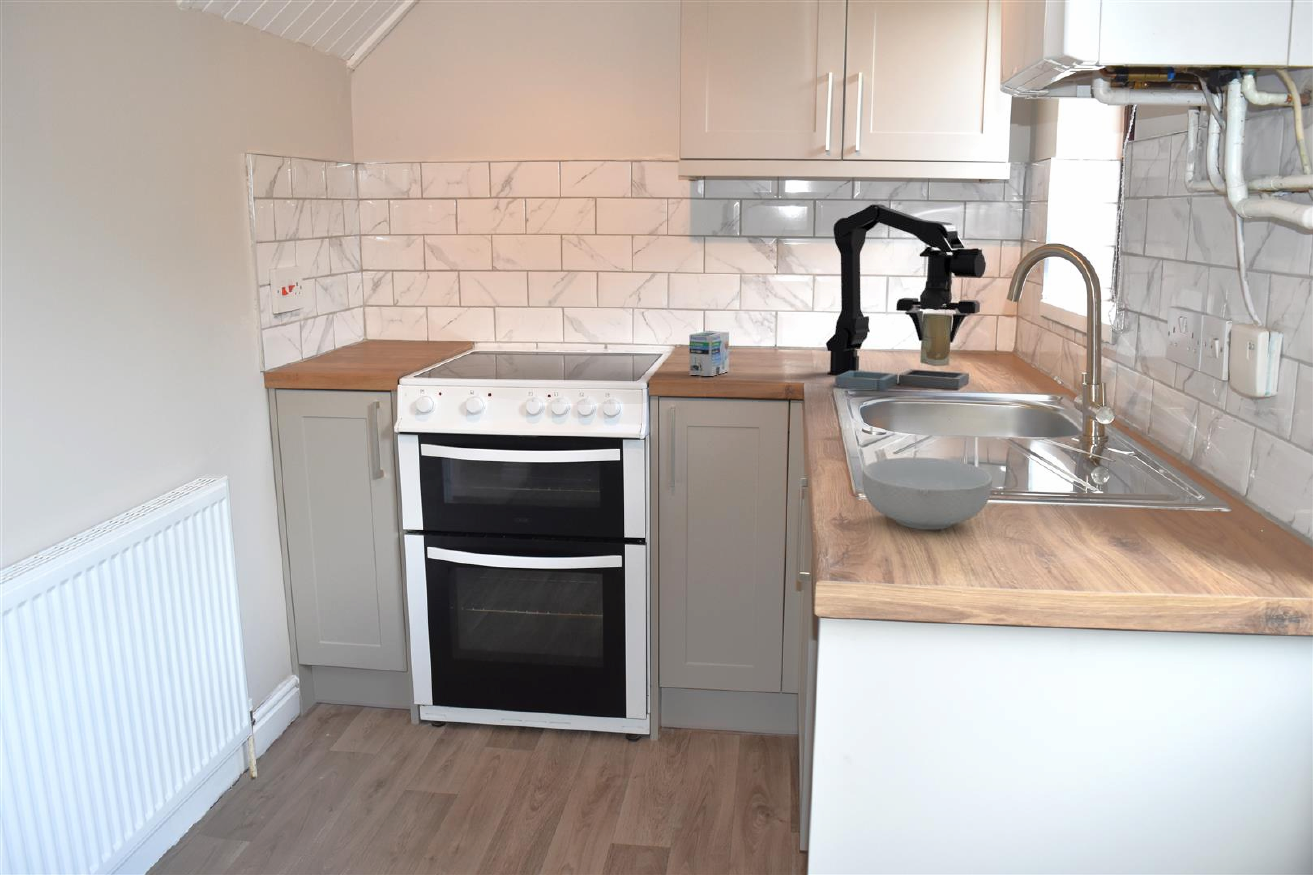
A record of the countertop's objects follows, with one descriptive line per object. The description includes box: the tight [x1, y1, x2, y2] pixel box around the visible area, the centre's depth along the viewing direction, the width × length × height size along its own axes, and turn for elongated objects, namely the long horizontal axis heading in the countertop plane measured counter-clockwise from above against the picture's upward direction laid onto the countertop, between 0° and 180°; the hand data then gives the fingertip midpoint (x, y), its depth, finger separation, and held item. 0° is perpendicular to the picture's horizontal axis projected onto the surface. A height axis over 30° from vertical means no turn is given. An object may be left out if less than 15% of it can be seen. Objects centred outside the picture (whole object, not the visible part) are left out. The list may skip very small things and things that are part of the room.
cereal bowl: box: [862, 456, 993, 531], centre depth 141 cm, size 17×17×7 cm
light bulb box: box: [689, 330, 730, 376], centre depth 270 cm, size 11×7×11 cm, turn 151°
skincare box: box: [919, 312, 953, 367], centre depth 251 cm, size 6×4×12 cm
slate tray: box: [834, 370, 899, 391], centre depth 252 cm, size 12×12×2 cm
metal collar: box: [897, 368, 970, 391], centre depth 253 cm, size 14×10×2 cm
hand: (935, 341), depth 251 cm, fingers closed on skincare box, 7 cm apart
